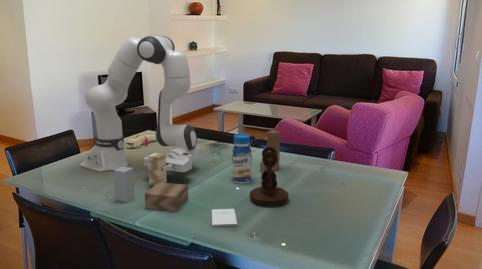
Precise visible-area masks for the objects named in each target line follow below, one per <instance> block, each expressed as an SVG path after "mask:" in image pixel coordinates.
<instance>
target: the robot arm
mask: <svg viewBox="0 0 482 269" xmlns="http://www.w3.org/2000/svg"><path fill="white" fill-rule="evenodd" d="M187 58H188V57H187V56H186V54H185V53H184V52H183V51H180V50H176V47H175V44H174V42H173V40H172V39H171V38H170V37H168V36H166V35H157V34H155V35H148V36H144V37H143V38H139V37H137V36H131V37H128V38H127V39H126V40H125V41H124V42H123V44H122V45H121V47H120V48H119V49H118V51H117V52H116V53H115V56H114V58H113V60H112V61H111V63H110V65H109V67H108V70H107V72H108V75H107V78H106V80H105V82H104V83H103V84H97V85H95V86H93V87H91V88H89V90H87V92H86V93H85V96H84V100H85V103H86V105H87V107H88V108H89V109H91V111H92V112H93V116H94V119H95V122H96V123H95V124H96V130H97V137H96V138H95V137H94V138H93V142H95V144H94V145H93V146H91V148H89V150H87V151H86V153H85V155H84V156H85V157H84V160H83V161H82V162H80V164H79V165H80V166H79V167H82V168H85V169H88V170H92V171H95V172H107V171H114V170H115V169H118V168H120V167H122V166H123V167H128V165H129V163H128V161H127V157H126V156H127V155H126V151H125V147H124V146H125V138H124V135H123V123H122V119H121V117H119V115H118V112H117V109H116V106H118V105H121V104H122V103H124V101H125V100H126V99H127V97H128V91H129V87H130V85H131V82H132V80H133V78H134V76H135V75H136V73H137V71H138V70H139V68H140V66H141V64H143V62H144V61H145V62H147V63H151V64H154V65H161V66H162V69H163V76H164V84H163V88H162V89H161V90H160V92H159V96H158V108H157V126H156V128H157V130H156V131H155V134H156V139H157V142H158V144H159V145H160V146H162V147H174V148H172V149H170V150H168V151H166V152H165V153H164V154H165V156H166V166H163V167H161V171H163V172H165V171H166V172H167V171H172V172H178V173H186V172H189V171H190V170H192V169H193V162H194V161H195V160H196V159H197V158H198V157H199V155H200V151H201V150H200V146H199V144H198V136H197V131H196V130H195V128H194V127H193V126H192V125H190V124H171V122H170V119H171V106H172V104H173V102H175V101H176V100H179V99H180V98H182V97H184V96H185V95H187V94H188V92H189V91H190V89H191V84H192V83H191V73H190V72H191V71H190V67H189V62H188V59H187ZM148 156H149V155H147V156H145V157H143V166H144V167H148Z"/></svg>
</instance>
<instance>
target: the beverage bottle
mask: <svg viewBox="0 0 482 269" xmlns="http://www.w3.org/2000/svg"><path fill="white" fill-rule="evenodd" d="M250 142H251V136H250V135H249V134H247V133H236V134H234V135H233V144H234V145H233V148H232V150H231V152H232V155H231V160H232V182H233V183H235V184H239V185H241V184H242V185H243V184H248V183H250V182H251V181H252V160H253V156H252V151H253V150H252V148H251V146H250Z"/></svg>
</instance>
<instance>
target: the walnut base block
mask: <svg viewBox="0 0 482 269" xmlns="http://www.w3.org/2000/svg"><path fill="white" fill-rule="evenodd" d="M188 200H189V185H188V184H183V183H182V184H181V183H170V182H166V183H160V182H158V183H157V184H156V185H152V187H151V188H150V189H148V190H147V191H146V192H145V193H144V204H145V207H144V208H145V210H147V209H149V210H155V209H157V210H156V211H164V210H168V211H167V212H174V211H177V212H178V211H179V210H180V209H181V208H182V207H181V206H183V205H184V204H186V202H187V201H188ZM180 207H181V208H180ZM179 208H180V209H179Z"/></svg>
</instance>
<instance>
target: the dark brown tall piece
mask: <svg viewBox="0 0 482 269" xmlns="http://www.w3.org/2000/svg"><path fill="white" fill-rule="evenodd" d="M261 156H262V159H261V162H262V161H263V163H262V170H261V171H260V182H261V183H260V184H261V186H257V187H255V188H253V189H252V190H250V191H249V196H248V197H249V198H250V199H251V200H252V201H253V202H254V203H255V205H256V206H257V205H258V203H259V204H264V205H277V204H280V205H281V206H284V202H286V201H287V200H288V199H289V192H288V191H287V190H285V189H284V188H281V187H279V186H278V180H277V174H276V173H275V171H272V167H273V166H274V165H275V164H276V163H277V161H278V157H277V152H276V150H275V149H274V148H273V147H267V146H266V147H265V148H263V149H262V152H261ZM264 165H265V166H266V167H267V171H265V172H263V168H264Z"/></svg>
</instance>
